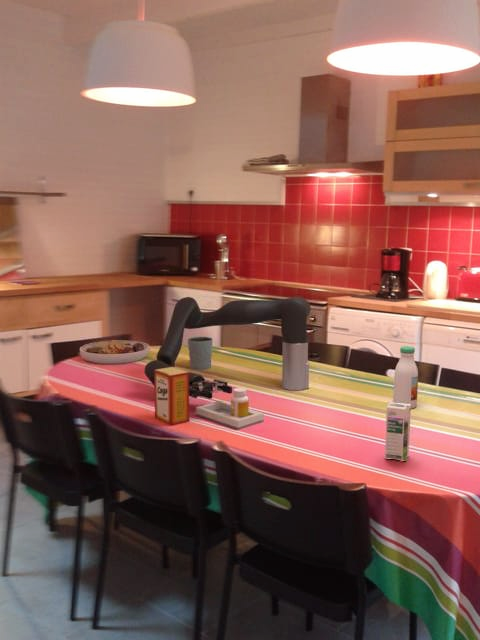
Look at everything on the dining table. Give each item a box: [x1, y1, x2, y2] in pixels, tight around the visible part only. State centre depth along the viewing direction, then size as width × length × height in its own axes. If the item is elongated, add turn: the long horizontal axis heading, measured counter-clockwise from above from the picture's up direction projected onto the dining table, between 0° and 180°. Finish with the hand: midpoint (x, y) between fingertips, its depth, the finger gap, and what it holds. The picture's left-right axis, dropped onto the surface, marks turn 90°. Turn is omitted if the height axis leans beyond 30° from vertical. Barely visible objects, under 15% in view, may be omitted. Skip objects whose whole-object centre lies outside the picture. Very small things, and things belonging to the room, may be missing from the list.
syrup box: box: [384, 401, 412, 462], centre depth 178 cm, size 6×6×14 cm
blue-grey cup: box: [187, 336, 213, 371], centre depth 276 cm, size 10×10×12 cm
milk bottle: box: [392, 345, 419, 409], centre depth 223 cm, size 8×8×20 cm
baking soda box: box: [154, 367, 190, 427], centre depth 208 cm, size 10×6×16 cm
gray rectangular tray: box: [195, 400, 264, 430], centre depth 211 cm, size 19×11×3 cm, turn 44°
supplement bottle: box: [230, 387, 250, 418], centre depth 207 cm, size 5×5×10 cm
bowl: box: [79, 339, 151, 365], centre depth 294 cm, size 30×30×8 cm
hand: (221, 393), depth 212 cm, fingers open, 8 cm apart
